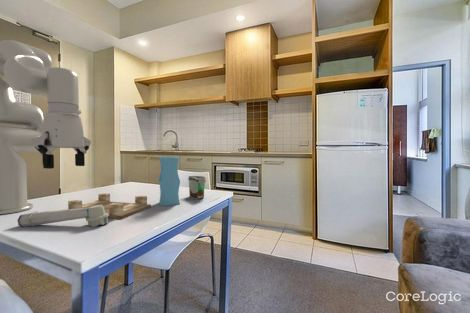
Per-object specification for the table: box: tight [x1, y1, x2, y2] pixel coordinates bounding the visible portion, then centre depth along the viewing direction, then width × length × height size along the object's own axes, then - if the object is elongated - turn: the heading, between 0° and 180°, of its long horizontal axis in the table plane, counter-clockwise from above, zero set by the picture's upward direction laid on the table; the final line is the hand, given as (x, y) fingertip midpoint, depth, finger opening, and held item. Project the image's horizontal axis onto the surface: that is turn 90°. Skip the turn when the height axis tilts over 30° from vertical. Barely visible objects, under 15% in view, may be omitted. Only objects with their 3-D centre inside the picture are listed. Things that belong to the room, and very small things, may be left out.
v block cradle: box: [67, 192, 152, 220], centre depth 85 cm, size 25×16×4 cm, turn 76°
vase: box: [158, 156, 181, 207], centre depth 96 cm, size 8×8×20 cm
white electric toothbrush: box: [16, 205, 109, 228], centre depth 68 cm, size 5×7×25 cm
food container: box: [188, 175, 207, 201], centre depth 108 cm, size 12×6×10 cm, turn 34°
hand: (65, 167), depth 68 cm, fingers open, 9 cm apart
